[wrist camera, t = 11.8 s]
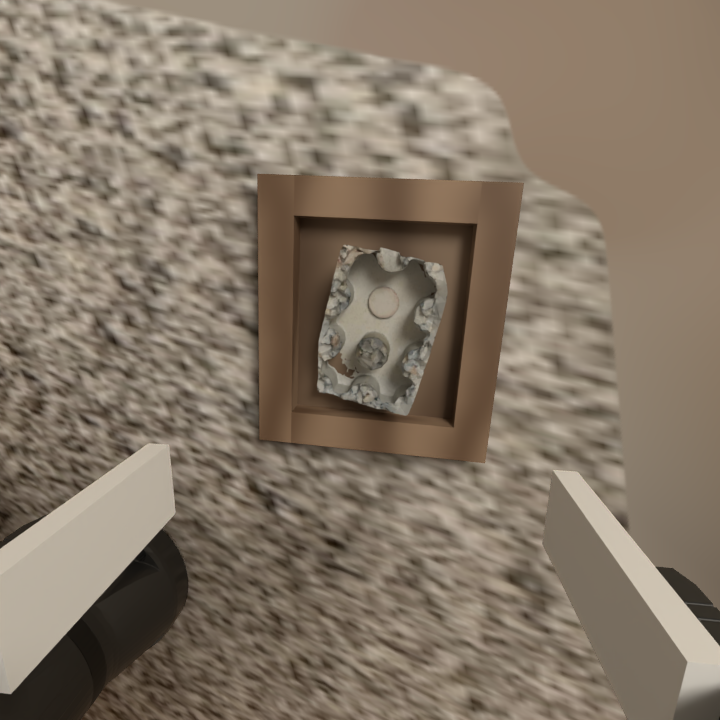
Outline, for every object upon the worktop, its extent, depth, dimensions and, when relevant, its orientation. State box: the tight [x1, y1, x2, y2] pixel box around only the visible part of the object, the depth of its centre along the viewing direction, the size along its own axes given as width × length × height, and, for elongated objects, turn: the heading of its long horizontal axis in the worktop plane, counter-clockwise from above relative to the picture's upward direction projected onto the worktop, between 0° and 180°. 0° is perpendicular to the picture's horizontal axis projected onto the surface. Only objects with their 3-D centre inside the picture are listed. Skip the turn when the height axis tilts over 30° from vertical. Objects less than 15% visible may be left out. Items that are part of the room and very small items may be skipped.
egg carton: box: [317, 245, 448, 416], centre depth 28 cm, size 11×8×4 cm
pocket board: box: [257, 174, 524, 463], centre depth 30 cm, size 17×19×2 cm
